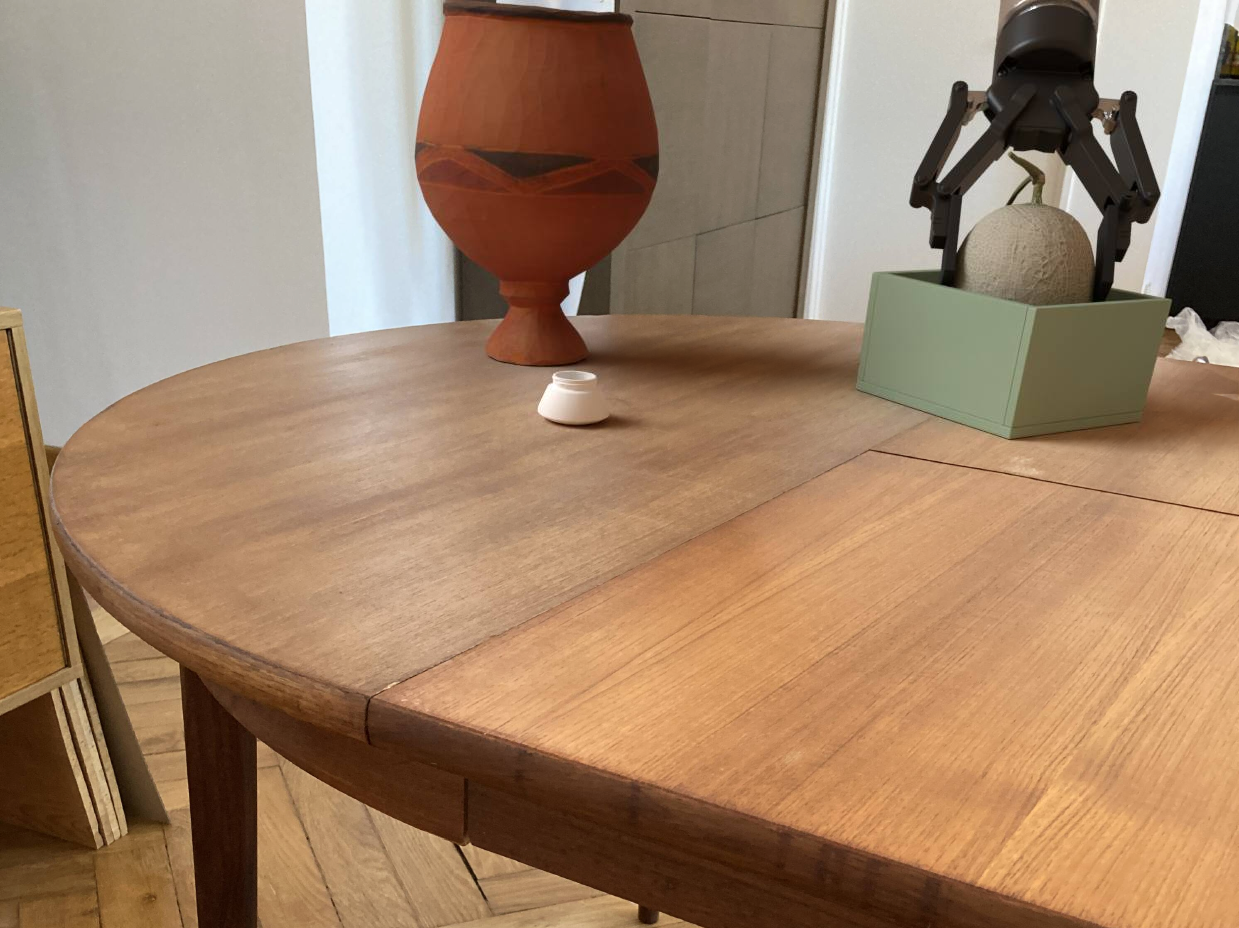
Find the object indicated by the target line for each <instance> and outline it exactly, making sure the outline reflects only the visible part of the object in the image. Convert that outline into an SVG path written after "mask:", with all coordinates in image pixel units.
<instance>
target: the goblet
mask: <svg viewBox="0 0 1239 928" xmlns="http://www.w3.org/2000/svg"><path fill="white" fill-rule="evenodd" d="M442 14H443V15H444V17H445V19H444V22H443V26H442V30H441V35H440V39H439V42H438V43H439V44H438V47H437V50H436V54H435V56H434V59H433V62H432V64H431V68H430V71H429V73H428V78H427V80H426V84H425V87H424V92H423V93H422V98H421V104H420V109H419V115H418V119H417V126H416V134H415V135H416V136H415V143H414V144H415V145H414V164H415V172H416V179H417V183H418V186H419V188H420V191H421V194H422V197H423V200H424V203H425V204H426V206H427V208H428V210H429V212H430V214H431V216H432V217H433V219H434V220H435V222H436V223H437V224H438V226H439V227H440V228H441V230H442V231H443V232H444V234H445V235H446V236H447V237H448V239H449V240H450V241H451V242H452V243H453V244H454V245H455V247H457V249H459V251H460V252H461V253H462V254H464V256H465V257H467V258H468V259H469V260H471V261H472V262H474V263H475V264H476V265H478V266H480V267H481V268H482V269H484V270H485V271H487V272H488V273H490V274H492V275H493V276H495V277H496V278H498V280H499V292H498V293H499V295H500V296H501V297H502V298H503V299H504V300H505V301H506V303H507V304H508V306H509V308H508V311H507V313H506V315H505V317H504V318H503V319H502V321H501V322H500V323H499V324H498V326H497V327H496V328H495V329H494V331H493V332H492V334H491V335H490V337H489V338H488V340H487V342H486V344H485V349H484V350H485V351H484V352H485V354H486V355H487V356H488V357H490V358H492V359H494V360H497V361H500V362H504V363H509V364H514V365H520V366H540V367H544V366H545V367H546V366H562V365H563V366H564V365H569V364H575V363H578V362H580V361H582V360H585V359H586V358H588V356H589V350H588V347H587V344H586V342H585V340H584V339H583V337H582V336H581V334H580V333H579V331H578V330H577V328H576V327H575V326H574V325H573V323H572V322H571V321H570V320H569V319H568V317H567V316H566V314H565V312H564V310H563V308H562V306H561V304H562V303H563V302H564V301H565V300H566V299H567V298H568V297H569V296H570V295H571V292H570V281H571V280H573V279H574V278H576V277H578V276H579V275H581V274H583V273H585V272H586V271H589V270H590V269H591V268H593V267H595V266H596V265H597V264H599V263H600V262H602V260H604V259H605V258H606V257H607V256H608V255H610V254H611V253H613V251H615V249H617V248H618V246H619V245H620V244H621V243H622V242H623V241H624V240H625V239H626V238H627V237H628V236H629V235H630V233H631V232H632V231H633V230H634V229H635V227H636V226H637V225H638V223H639V222H640V220H641V219H642V217H643V216H644V215H645V213H646V211H647V209H648V207H649V205H650V203H651V200H652V198H653V194H654V192H655V189H656V187H657V184H658V179H659V173H660V145H659V131H658V126H657V119H656V115H655V110H654V106H653V101H652V97H651V92H650V90H649V86H648V81H647V78H646V76H645V71H644V68H643V65H642V61H641V58H640V55H639V51H638V47H637V44H636V40H635V37H634V34H633V30H632V27H633V25H634V21H635V20H634V19H633V17H632V15H631V14H628V13H623V12H621V11H619V12H618V11H617V12H616V11H599V12H598V11H593V10H571V9H561V8H553V7H546V6H540V5H539V6H538V5H526V4H514V3H500V2H494V1H493V2H492V1H483V0H445V1H444V2H443V3H442Z"/></svg>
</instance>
